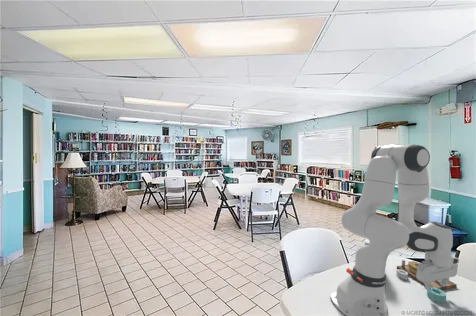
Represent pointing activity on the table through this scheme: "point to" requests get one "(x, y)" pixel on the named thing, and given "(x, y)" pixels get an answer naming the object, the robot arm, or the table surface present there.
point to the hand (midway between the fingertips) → (435, 287)
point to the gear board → (412, 272)
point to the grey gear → (402, 274)
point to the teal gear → (436, 295)
